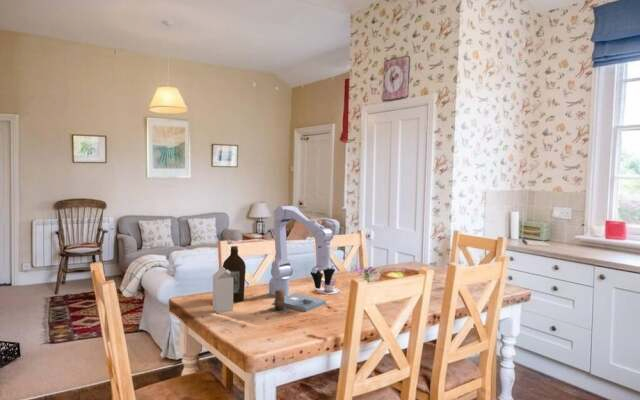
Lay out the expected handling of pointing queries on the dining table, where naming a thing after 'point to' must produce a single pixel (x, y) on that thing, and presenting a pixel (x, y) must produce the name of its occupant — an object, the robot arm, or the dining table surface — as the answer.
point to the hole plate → (302, 302)
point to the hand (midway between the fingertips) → (322, 286)
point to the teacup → (328, 287)
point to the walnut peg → (279, 300)
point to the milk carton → (222, 291)
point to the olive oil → (236, 273)
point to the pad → (279, 311)
